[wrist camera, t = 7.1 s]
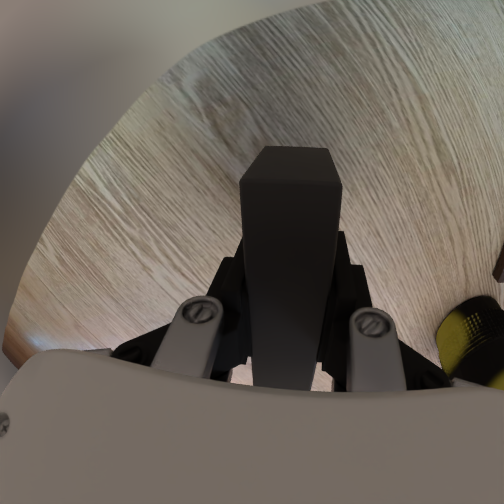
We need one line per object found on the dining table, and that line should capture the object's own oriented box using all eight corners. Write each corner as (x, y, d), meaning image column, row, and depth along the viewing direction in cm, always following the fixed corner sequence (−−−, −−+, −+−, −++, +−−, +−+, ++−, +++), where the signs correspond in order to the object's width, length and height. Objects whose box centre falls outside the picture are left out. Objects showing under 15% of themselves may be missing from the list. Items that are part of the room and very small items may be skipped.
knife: (264, 145, 9) (238, 179, 6) (329, 147, 9) (343, 183, 6) (267, 420, 20) (259, 464, 16) (295, 423, 19) (289, 467, 16)
